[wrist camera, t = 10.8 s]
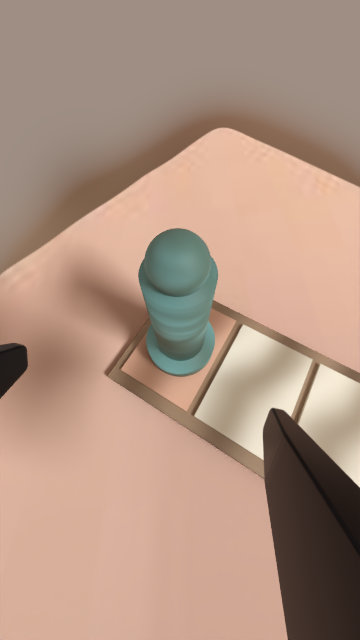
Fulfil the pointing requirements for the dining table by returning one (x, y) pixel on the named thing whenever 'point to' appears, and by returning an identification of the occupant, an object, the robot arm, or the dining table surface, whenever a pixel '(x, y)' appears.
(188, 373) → the pawn
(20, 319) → the dining table surface
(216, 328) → the game board
